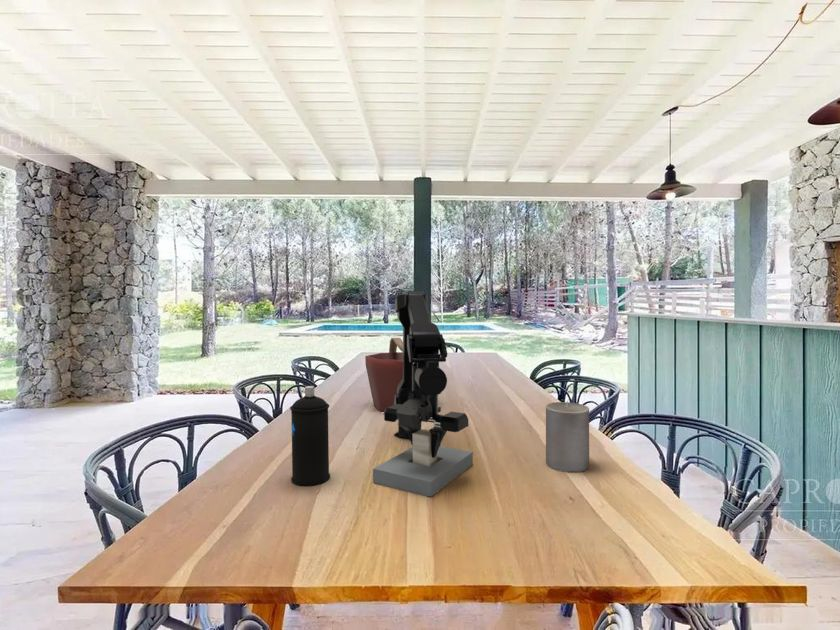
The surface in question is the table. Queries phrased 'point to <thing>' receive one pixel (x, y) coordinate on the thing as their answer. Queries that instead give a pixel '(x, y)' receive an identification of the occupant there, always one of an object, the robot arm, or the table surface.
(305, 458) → the aerosol can
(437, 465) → the socket block
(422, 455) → the cream peg
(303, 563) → the table surface
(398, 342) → the bucket
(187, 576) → the table surface
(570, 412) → the pillar candle
